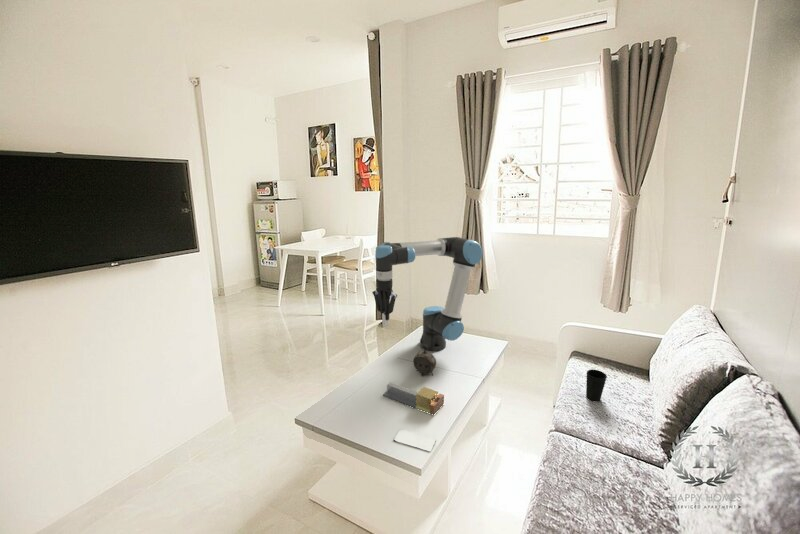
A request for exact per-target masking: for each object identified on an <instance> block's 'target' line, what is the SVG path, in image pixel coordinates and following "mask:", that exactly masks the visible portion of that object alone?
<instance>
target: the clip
mask: <svg viewBox="0 0 800 534" xmlns="http://www.w3.org/2000/svg"><path fill="white" fill-rule="evenodd" d="M417 392H418V393H417V394H416V406H417V407H419V408H422V409H425V410H427V411H430V404H431V403H432V402H433V401H434V399H435V398H436V397H437V396H438V395H439V391H438V390H434V389H432V388H429V387H425V386H423V387H422V388H420V389H419V391H417Z"/></svg>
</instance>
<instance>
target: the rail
mask: <svg viewBox="0 0 800 534" xmlns="http://www.w3.org/2000/svg"><path fill="white" fill-rule="evenodd" d="M418 392H419V391H415V390H413V389H410V388H408V387H404V386H402V385H400V384H396V383H393V382H388V383H387V384H386V391H385V392H384V393H383V394H382V396H383V397H384V398H386V399H387V398H388V399H390V400H393V401H394V400H395V402H397V403H399V404H402V403H403V405H405V404H406V405H405V406H407V405H408V406H407V407H410V406H411V407H410V408H412V407H413V408H412V409H415V408H416V410H417V409H419V410H418V411H420V410H422V411H425V412H428V413H430V414H433V415H434V414H435V413H436V412H437V411H438V410H439V409H440V407H441V406H442V405H443V404H445V394H442V393H438V396H437V397H436V398H435V399H434V401H433V402H432V403H431V404H430V411H427V410H425V409H422V408H419V407H417V406H416V394H417V393H418ZM443 406H444V405H443ZM443 406H442V407H443ZM442 407H441V408H442ZM440 410H441V409H440ZM440 410H439V411H440ZM422 411H421V412H422ZM439 411H438V412H439ZM425 412H424V413H425ZM438 412H437V413H438ZM437 413H436V414H437ZM430 414H429V415H430Z"/></svg>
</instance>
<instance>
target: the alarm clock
mask: <svg viewBox="0 0 800 534" xmlns="http://www.w3.org/2000/svg"><path fill="white" fill-rule="evenodd" d="M422 346H424V345H422ZM422 346H420V348H421V350H420V351H418V352H417V353H416V355H415V356H414V357H413V367H414V368H415V370H416V372H419V373H421V377H423V376H424V375H427V374H428V375H429V374H431V376H434V373H433V371H434V369H435V368H436V365H437V360H436V357H435V356H434V355H433V353H432V352H430V351H429V350H428V347H427V346H426V345H425V346H426V347H427V350H425V349H423V348H422Z"/></svg>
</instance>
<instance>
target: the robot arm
mask: <svg viewBox="0 0 800 534" xmlns="http://www.w3.org/2000/svg"><path fill="white" fill-rule="evenodd" d="M374 255H375V256H374V258H375V276H376V277H375V278H376V283H375V286H376V290H373V291H372V296H373V297H374V301H375V307H376V310H377V312H380V318H381V322H382V327H384V328H385V327H388V326H389V320H390V314H391V313H393V312H394V307H395V303H396V299H397V298H398V294H396V293H394V291H393V266H397V265H406V264H410V263H413V262H414V261H415V260H416V257H421V256H433V255H434V256H435V255H437V256H438V257H449V258H452V259H453V260H452V263H453V265H454V268H453V272H452V277H451V281H450V283H449V289H448V293H447V297H446V301H445V306H444V307H442V306H438V305H435V306H434V305H433V306H428V307H425V308H424V309H423V312H422V333H421V337H420V339H419V346H420V347H421V346H422V345H424V346H422V348H421V349H423V350H427V347H428V350H427V351H428V352H430V351H431V352H438V351H442V350H444V349H445V348H446V346H447V341H446V340H448V341H450V342H451V341H455V340H458V339H459V338H460V337H461V336H462V335H463V333H464V331H465V326H464V323H463V322H462V319H463V316H462V314H461V311H462V307H463V304H464V303H463V302H464V299H465V295H466V290H467V287H468V284H469V282H468V281H469V278H470V274H471V271H472V270H473V269H474V268H475V266H476V265H477V264H478V263H479V262H480V261H481V260H482V258H483V248H482V246H481V245H480V243H479V242H478V241H475V240H473V239H468V238H462V237H459V236H451V237H441V238H440V237H439V238H437V239H436V240H423V241H420V240H419V241H408V242H407V241H406V242H392V243H391V242H389V241H385V242H382V243H381V244H379V245H377V246H376V248H375V254H374ZM425 345H426V346H427V347H426V346H425Z"/></svg>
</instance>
